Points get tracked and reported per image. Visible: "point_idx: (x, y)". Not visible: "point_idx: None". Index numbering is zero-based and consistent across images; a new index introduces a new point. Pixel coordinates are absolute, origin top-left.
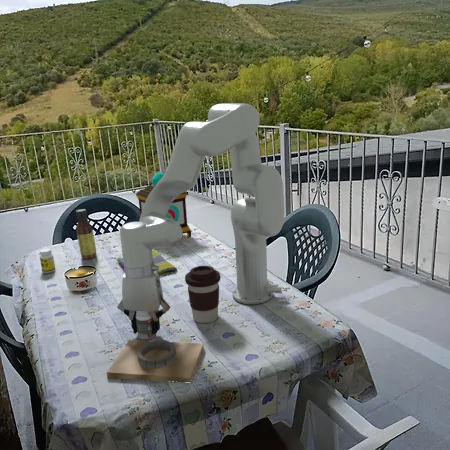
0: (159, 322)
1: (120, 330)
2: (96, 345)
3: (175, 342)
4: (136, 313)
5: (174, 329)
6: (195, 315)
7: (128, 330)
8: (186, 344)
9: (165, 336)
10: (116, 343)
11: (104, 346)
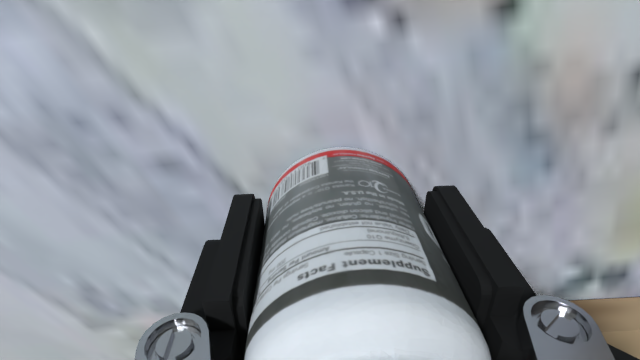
0: (512, 265)
1: (58, 165)
2: (47, 342)
3: (603, 332)
4: (211, 348)
5: (576, 85)
6: None
7: (134, 156)
8: None
9: (497, 200)
10: (163, 312)
11: (108, 343)
